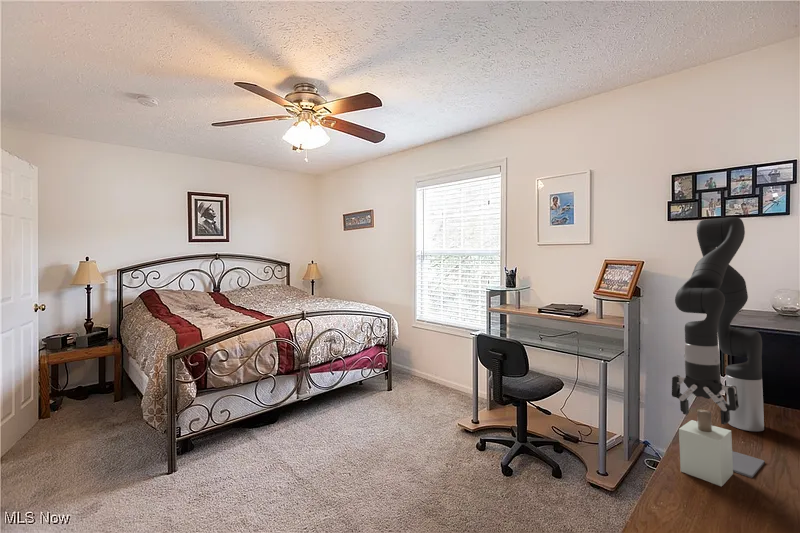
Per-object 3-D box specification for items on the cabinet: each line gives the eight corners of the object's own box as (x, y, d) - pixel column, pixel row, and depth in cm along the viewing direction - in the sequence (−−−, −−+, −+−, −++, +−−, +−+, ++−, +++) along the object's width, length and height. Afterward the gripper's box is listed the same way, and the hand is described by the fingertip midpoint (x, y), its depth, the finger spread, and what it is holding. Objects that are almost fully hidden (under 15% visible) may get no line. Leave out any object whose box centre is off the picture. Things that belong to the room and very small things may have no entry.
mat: (712, 446, 116) (711, 444, 116) (764, 462, 106) (764, 460, 106) (697, 459, 109) (697, 457, 109) (752, 478, 99) (751, 475, 99)
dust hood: (693, 460, 109) (690, 402, 109) (733, 474, 102) (730, 412, 101) (680, 471, 104) (678, 410, 104) (721, 486, 97) (718, 421, 96)
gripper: (740, 362, 99) (742, 423, 99) (677, 353, 110) (679, 407, 111) (730, 368, 94) (733, 431, 95) (666, 357, 106) (668, 414, 106)
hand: (704, 418), depth 103 cm, fingers open, 8 cm apart
